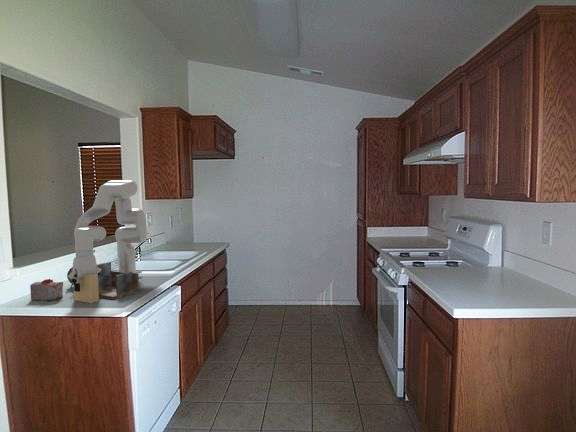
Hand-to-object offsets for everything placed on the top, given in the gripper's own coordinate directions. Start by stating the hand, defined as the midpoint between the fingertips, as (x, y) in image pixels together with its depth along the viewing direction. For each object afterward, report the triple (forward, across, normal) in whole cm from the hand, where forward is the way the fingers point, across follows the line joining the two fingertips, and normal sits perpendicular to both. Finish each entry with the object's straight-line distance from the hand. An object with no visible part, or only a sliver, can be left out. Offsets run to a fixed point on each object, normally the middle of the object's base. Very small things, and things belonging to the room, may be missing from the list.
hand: (86, 288), depth 176 cm
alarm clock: (+6, -17, -28) cm, 33 cm away
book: (+6, 0, 0) cm, 6 cm away
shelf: (+6, -14, 0) cm, 15 cm away
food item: (+6, +6, -20) cm, 22 cm away
